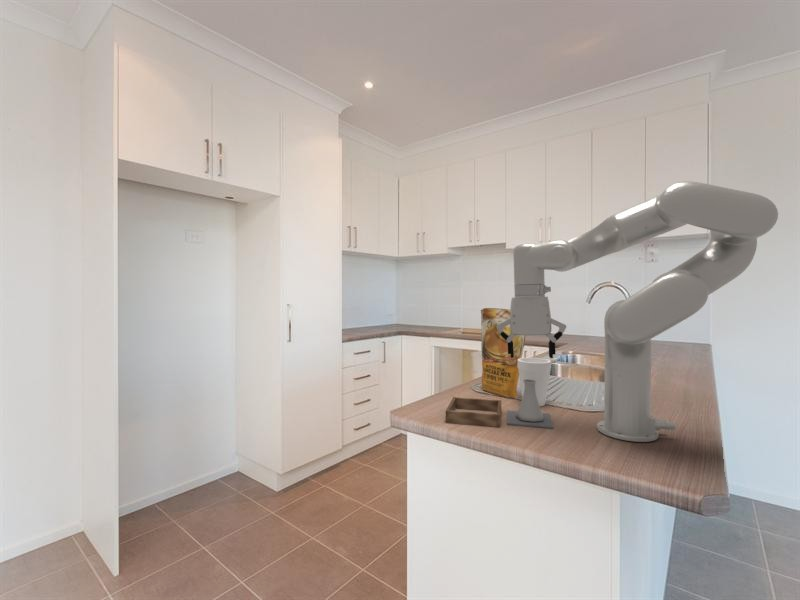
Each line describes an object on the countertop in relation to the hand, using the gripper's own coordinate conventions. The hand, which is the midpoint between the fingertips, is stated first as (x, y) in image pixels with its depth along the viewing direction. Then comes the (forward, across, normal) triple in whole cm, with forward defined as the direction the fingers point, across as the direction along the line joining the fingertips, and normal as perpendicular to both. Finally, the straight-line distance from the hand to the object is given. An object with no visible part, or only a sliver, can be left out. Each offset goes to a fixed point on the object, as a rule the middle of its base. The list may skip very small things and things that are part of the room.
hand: (531, 357), depth 103 cm
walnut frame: (+16, +15, +1) cm, 22 cm away
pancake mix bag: (+16, +9, -26) cm, 32 cm away
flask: (+16, +1, 0) cm, 16 cm away
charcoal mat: (+16, +1, 0) cm, 17 cm away
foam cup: (+17, -1, -16) cm, 23 cm away
